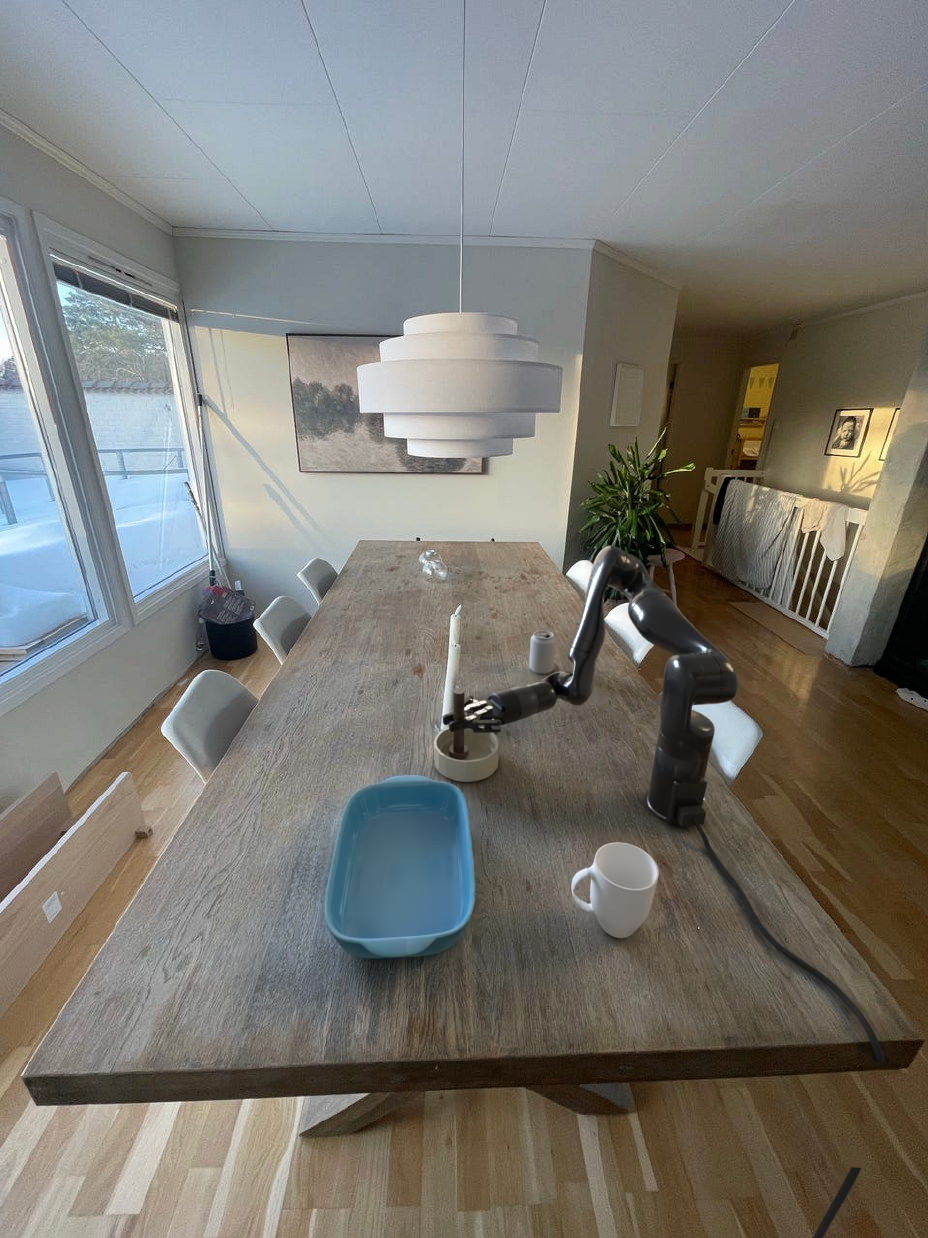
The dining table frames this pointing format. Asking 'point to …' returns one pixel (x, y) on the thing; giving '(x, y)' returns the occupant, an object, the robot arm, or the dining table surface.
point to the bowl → (478, 761)
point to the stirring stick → (458, 747)
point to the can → (542, 652)
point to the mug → (619, 887)
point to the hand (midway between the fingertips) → (446, 723)
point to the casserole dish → (401, 870)
